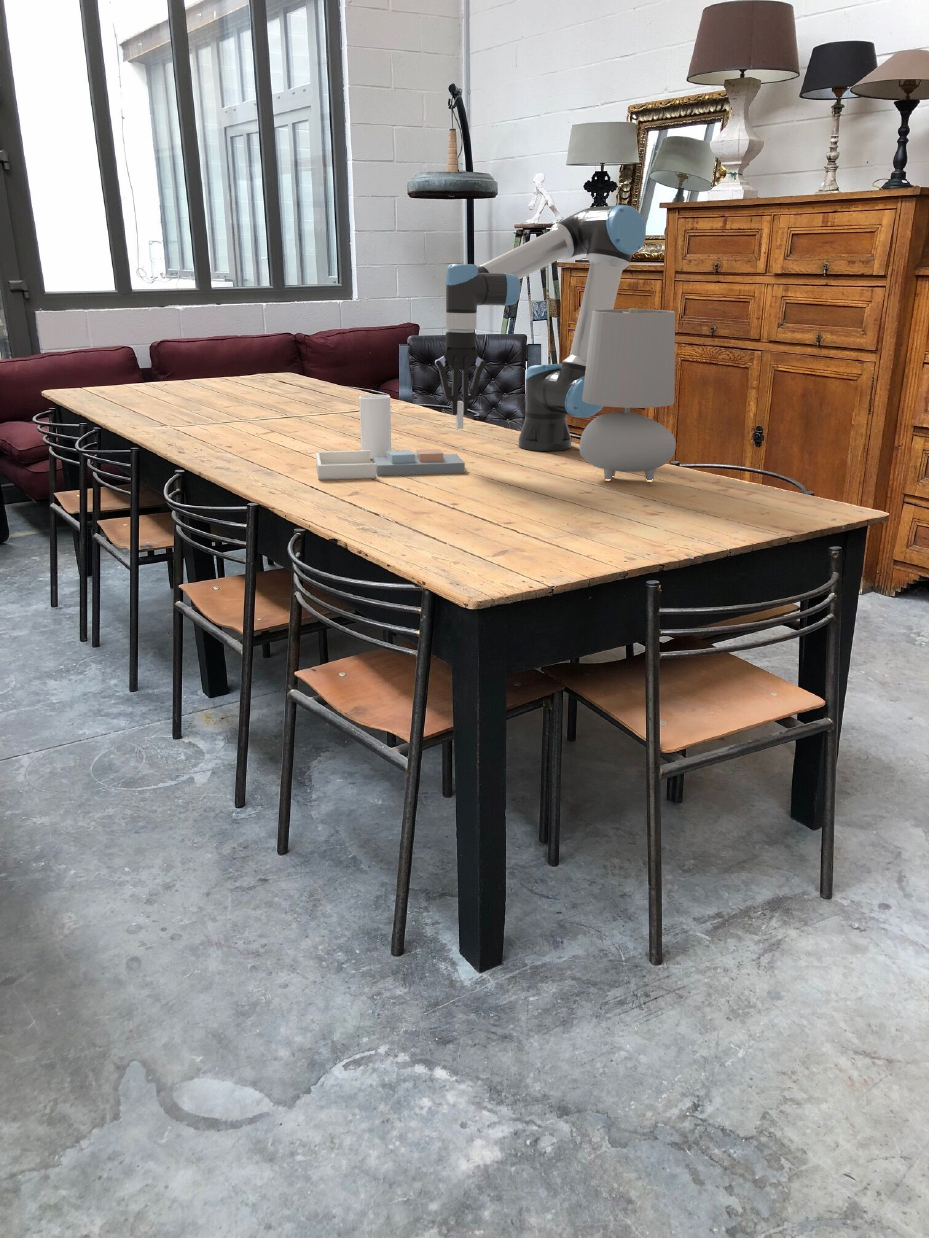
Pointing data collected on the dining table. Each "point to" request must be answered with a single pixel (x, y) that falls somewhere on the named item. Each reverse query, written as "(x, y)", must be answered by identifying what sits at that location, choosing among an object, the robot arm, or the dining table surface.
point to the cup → (375, 424)
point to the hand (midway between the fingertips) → (459, 427)
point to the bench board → (420, 466)
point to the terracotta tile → (429, 455)
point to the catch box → (345, 465)
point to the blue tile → (400, 456)
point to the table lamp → (629, 389)
